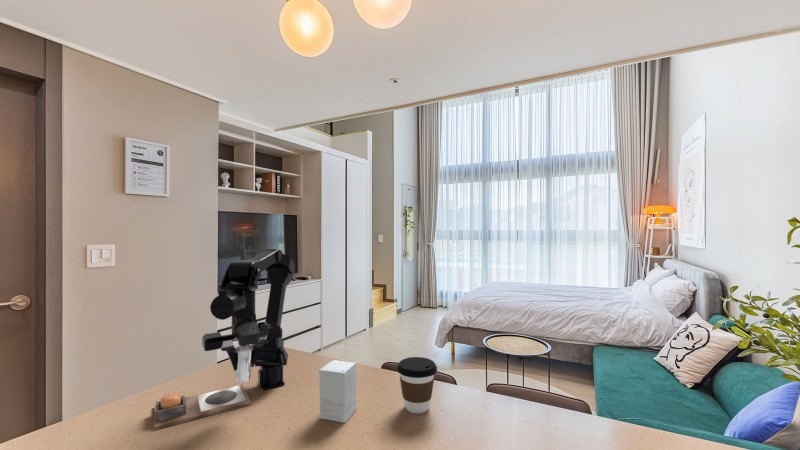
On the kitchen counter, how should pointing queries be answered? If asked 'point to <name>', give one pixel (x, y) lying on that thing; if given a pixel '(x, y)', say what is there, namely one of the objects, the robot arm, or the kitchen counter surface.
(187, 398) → the board
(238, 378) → the milkshake
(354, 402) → the supplement box
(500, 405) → the kitchen counter surface
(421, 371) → the coffee cup
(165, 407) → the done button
